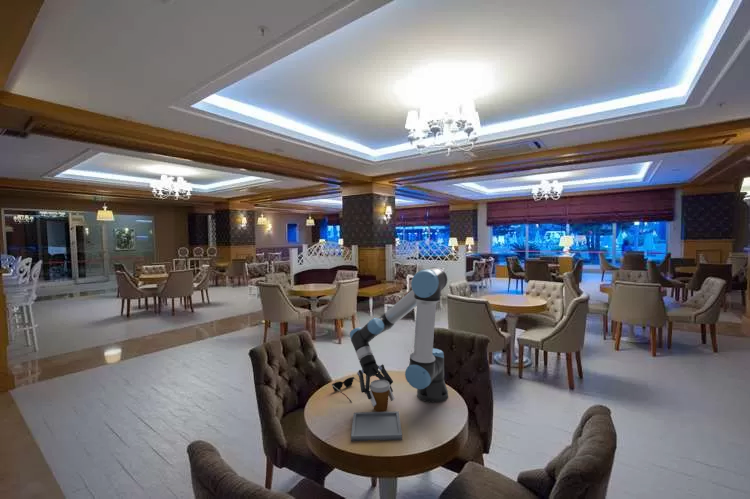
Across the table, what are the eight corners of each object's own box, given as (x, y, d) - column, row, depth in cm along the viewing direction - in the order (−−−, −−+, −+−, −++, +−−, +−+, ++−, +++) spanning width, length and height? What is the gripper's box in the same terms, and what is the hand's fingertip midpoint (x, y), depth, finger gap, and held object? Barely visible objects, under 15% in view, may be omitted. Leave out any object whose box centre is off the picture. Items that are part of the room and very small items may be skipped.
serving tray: (398, 415, 157) (398, 411, 157) (402, 439, 138) (402, 434, 138) (353, 416, 157) (353, 412, 156) (351, 441, 138) (351, 436, 138)
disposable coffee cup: (389, 415, 157) (388, 388, 157) (368, 413, 159) (367, 387, 159) (392, 404, 167) (391, 379, 166) (372, 403, 169) (371, 378, 168)
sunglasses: (353, 385, 190) (353, 376, 190) (371, 397, 178) (372, 387, 177) (331, 392, 182) (331, 383, 181) (349, 406, 169) (349, 396, 169)
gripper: (382, 357, 181) (400, 399, 168) (343, 366, 170) (360, 412, 157) (387, 349, 176) (406, 393, 163) (348, 358, 165) (365, 405, 152)
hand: (383, 402), depth 160 cm, fingers closed on disposable coffee cup, 9 cm apart
